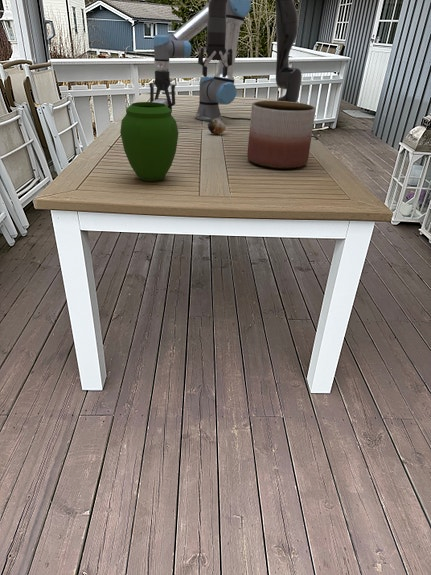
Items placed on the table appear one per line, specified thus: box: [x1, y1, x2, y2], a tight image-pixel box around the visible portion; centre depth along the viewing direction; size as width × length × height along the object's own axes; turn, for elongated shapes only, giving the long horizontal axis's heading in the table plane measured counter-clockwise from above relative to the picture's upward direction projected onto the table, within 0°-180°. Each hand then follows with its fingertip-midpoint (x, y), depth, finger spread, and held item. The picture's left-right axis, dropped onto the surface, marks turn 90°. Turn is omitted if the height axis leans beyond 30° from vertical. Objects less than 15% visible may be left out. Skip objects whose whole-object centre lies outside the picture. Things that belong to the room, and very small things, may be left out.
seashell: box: [207, 118, 227, 135], centre depth 211 cm, size 10×6×8 cm, turn 97°
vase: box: [119, 101, 179, 182], centre depth 140 cm, size 20×20×24 cm
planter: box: [246, 100, 317, 170], centre depth 167 cm, size 25×25×22 cm
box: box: [153, 97, 169, 107], centre depth 212 cm, size 24×6×13 cm, turn 171°
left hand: (163, 118), depth 221 cm, fingers closed on box, 6 cm apart
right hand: (214, 76), depth 171 cm, fingers open, 8 cm apart
